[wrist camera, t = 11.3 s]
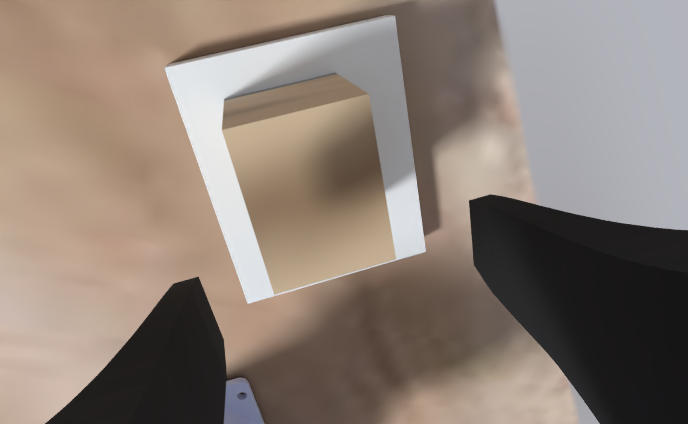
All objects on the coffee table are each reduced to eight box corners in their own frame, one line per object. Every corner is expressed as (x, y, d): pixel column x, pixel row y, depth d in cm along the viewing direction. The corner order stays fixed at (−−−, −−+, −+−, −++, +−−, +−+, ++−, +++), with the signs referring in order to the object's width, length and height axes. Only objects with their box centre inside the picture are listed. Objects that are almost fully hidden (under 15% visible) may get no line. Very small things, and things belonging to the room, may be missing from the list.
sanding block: (361, 205, 21) (396, 259, 17) (264, 231, 20) (274, 294, 16) (335, 72, 18) (368, 94, 14) (223, 99, 18) (221, 129, 13)
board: (417, 240, 24) (425, 251, 23) (247, 289, 23) (247, 303, 22) (385, 15, 19) (394, 15, 18) (168, 63, 18) (164, 67, 17)
